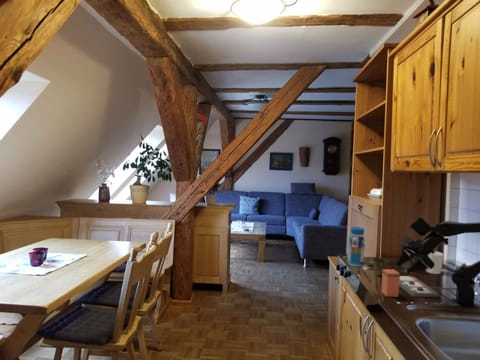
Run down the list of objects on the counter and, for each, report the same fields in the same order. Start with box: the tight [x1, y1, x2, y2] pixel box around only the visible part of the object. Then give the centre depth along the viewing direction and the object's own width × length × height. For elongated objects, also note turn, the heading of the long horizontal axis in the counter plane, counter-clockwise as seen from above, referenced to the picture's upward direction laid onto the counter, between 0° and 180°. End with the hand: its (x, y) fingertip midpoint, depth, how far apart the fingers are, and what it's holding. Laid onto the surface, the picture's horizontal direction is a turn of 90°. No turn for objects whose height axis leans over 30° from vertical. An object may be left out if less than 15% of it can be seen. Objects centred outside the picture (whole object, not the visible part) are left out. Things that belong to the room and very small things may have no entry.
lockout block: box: [380, 268, 401, 298], centre depth 143 cm, size 5×5×10 cm
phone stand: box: [396, 257, 415, 271], centre depth 177 cm, size 9×6×12 cm, turn 62°
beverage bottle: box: [347, 226, 366, 267], centre depth 182 cm, size 8×8×20 cm
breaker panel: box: [399, 275, 440, 298], centre depth 151 cm, size 20×11×2 cm, turn 1°
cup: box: [372, 257, 390, 277], centre depth 166 cm, size 8×7×8 cm
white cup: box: [425, 250, 444, 275], centre depth 173 cm, size 8×8×10 cm
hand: (401, 268), depth 143 cm, fingers open, 9 cm apart
